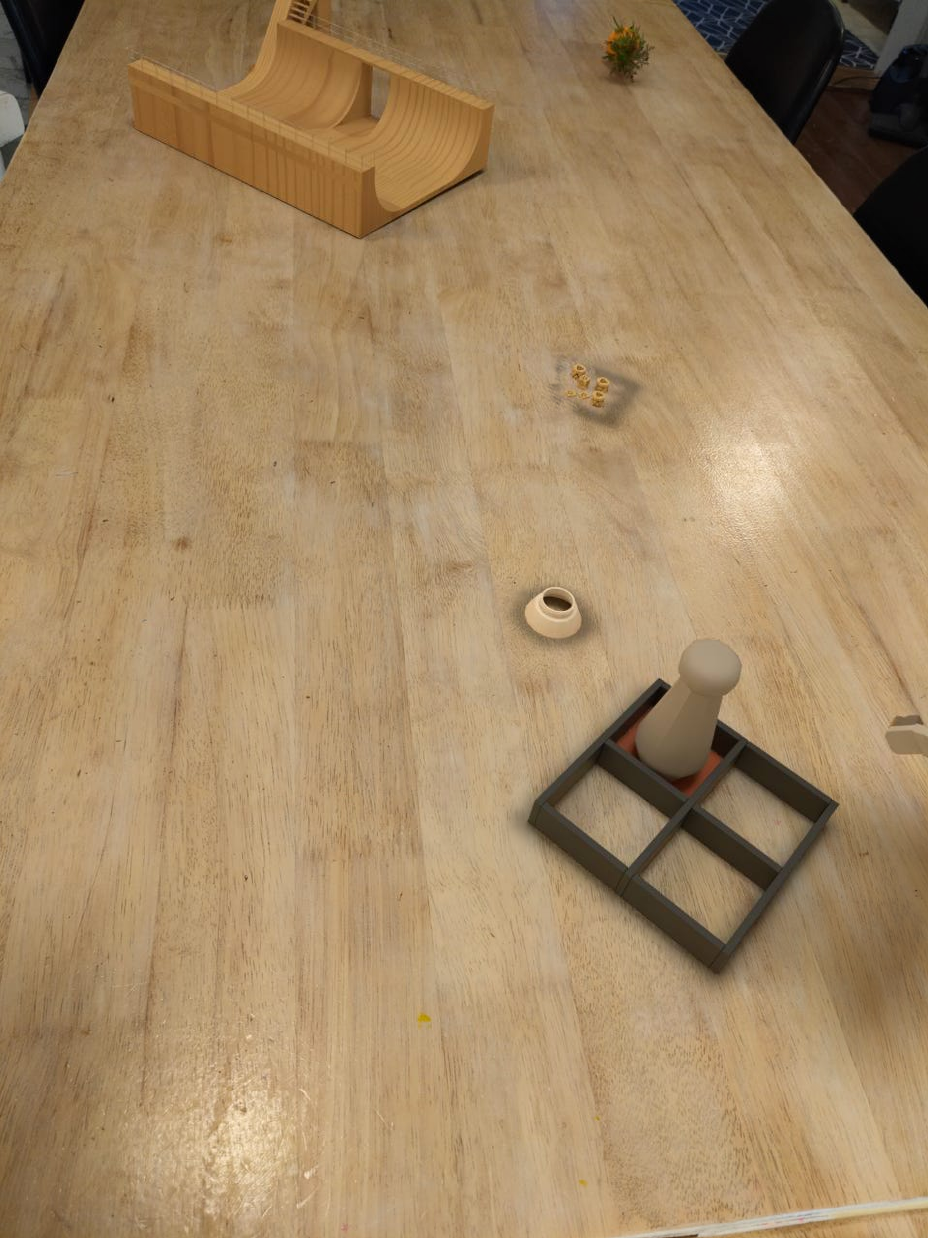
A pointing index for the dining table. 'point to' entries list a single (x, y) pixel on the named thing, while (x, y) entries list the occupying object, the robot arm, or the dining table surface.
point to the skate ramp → (321, 124)
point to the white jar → (553, 615)
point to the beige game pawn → (688, 711)
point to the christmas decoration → (626, 49)
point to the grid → (681, 822)
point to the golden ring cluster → (584, 382)
